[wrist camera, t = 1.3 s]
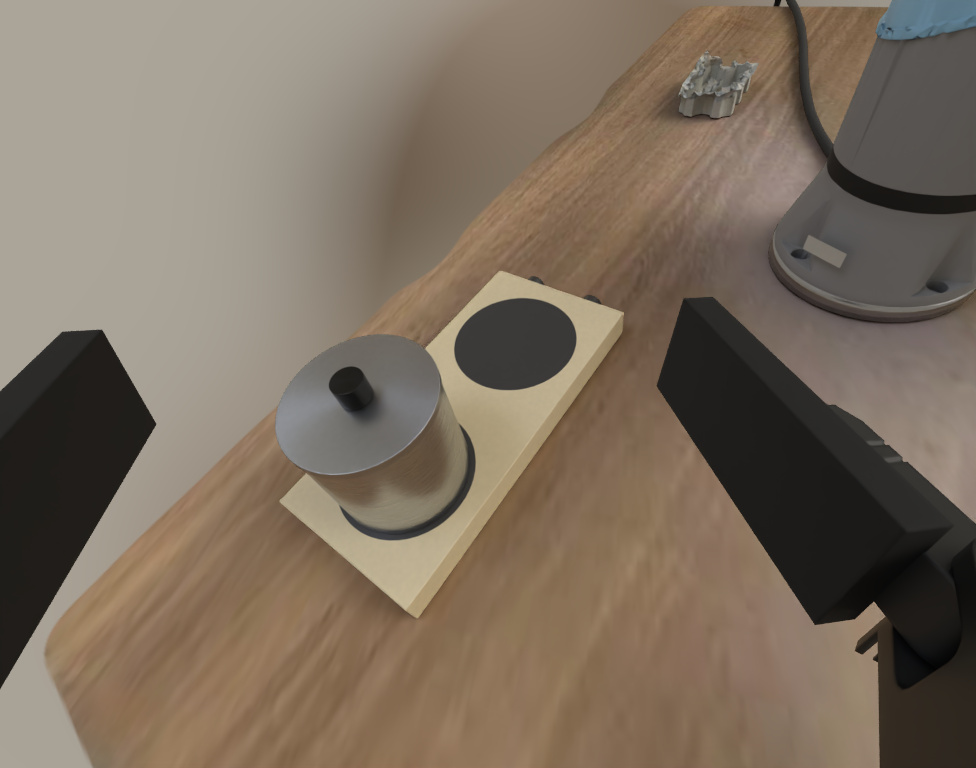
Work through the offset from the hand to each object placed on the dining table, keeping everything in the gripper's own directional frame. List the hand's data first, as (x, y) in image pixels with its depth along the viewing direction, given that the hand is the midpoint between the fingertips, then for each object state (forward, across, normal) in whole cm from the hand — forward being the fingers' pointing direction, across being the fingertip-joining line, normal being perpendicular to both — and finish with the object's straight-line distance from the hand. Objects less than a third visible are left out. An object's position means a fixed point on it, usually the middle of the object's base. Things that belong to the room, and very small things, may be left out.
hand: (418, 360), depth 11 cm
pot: (+14, -2, -20) cm, 24 cm away
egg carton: (+59, +41, -3) cm, 72 cm away
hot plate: (+19, +3, -20) cm, 28 cm away
